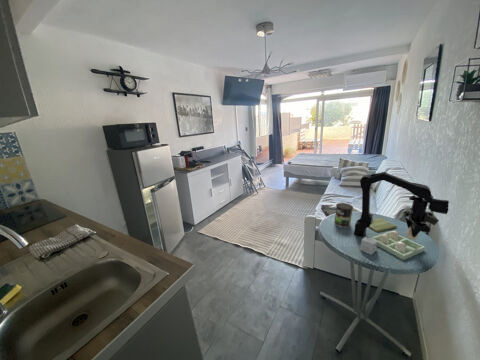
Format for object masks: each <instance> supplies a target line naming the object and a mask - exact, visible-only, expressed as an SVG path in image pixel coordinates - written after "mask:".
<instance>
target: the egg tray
mask: <svg viewBox="0 0 480 360" xmlns="http://www.w3.org/2000/svg"><path fill="white" fill-rule="evenodd" d="M391 231H392V230H388V231H387V232H386V231H385V232H384V233H382V234H386V235H388V236H389V234H390V232H391ZM382 234H378V235H375V236H372V237H371V238H373V239H375V240H378V243H377V247H379V248H380V249H382V250H385V251H386V252H388V253H389V254H391V255H394V256H395V257H396V258H398V259H400V260H403V261H405V260H407V259H409V258H412V257H414V256H416V255H418V254H421V253H423V252H424V251H425V249H426V247H425V246H424V245H422V244H419V242H418V243H417V242H415V241H413V240H412V239H410V238H409V239H408V237H404V236H402V235H400V234H399V237H398V241H397V242H403V243H404V244H405V245H406V249H405V253H404V254H402V253H400V252H398V251H396V250H395V245H396V243H397V242H396V241H394V240H392V239H390V238H389V243H388V245H385V244H383V243H381V242H379V240H380V236H381V235H382Z"/></svg>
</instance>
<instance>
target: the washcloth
mask: <svg viewBox="0 0 480 360" xmlns="http://www.w3.org/2000/svg"><path fill="white" fill-rule="evenodd" d="M397 227H398V226H397V225H396V224H394V223H391V222H388V221H387V220H385V219H384V218H381V217H378V218H375V219H373V222H372V224H370V227H368V229H371V230H373V231H374V232H375V233H377V232H378V233H382V232H386V231H387V232H388V231H391V230H393V229H396V228H397Z"/></svg>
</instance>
